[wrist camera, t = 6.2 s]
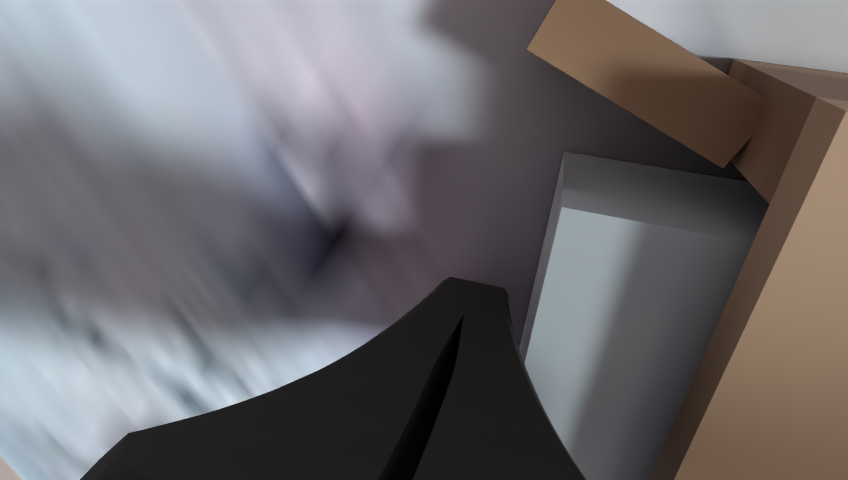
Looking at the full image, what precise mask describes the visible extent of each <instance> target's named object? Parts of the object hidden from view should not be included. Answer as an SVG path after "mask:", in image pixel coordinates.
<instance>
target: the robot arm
mask: <svg viewBox="0 0 848 480" xmlns="http://www.w3.org/2000/svg"><path fill="white" fill-rule="evenodd" d="M80 480H586V478H585V477H584V475H583V474H582V472H581V471H580V469H579V468H578V466H577V465H576V464H575V462H574V461H573V459H572V458H571V456H570V454H569V453H568V451H567V449H566V448H565V446H564V444H563V443H562V441H561V439H560V438H559V436H558V434H557V432H556V431H555V429H554V427H553V425H552V423H551V421H550V420H549V418H548V416H547V414H546V412H545V410H544V408H543V406H542V404H541V402H540V400H539V398H538V395H537V393H536V391H535V389H534V386H533V384H532V382H531V379H530V377H529V375H528V372H527V370H526V367H525V364H524V362H523V359H522V356H521V353H520V350H519V346H518V343H517V340H516V337H515V334H514V330H513V326H512V321H511V317H510V311H509V304H508V293H507V292H506V290H505V289H504V288H500V287H496V286H491V285H487V284H482V283H477V282H473V281H468V280H463V279H459V278H454V277H449V278H447V279H446V280H444V281H443V282H442V283H441V284H440V285H439V286H438V287H437V288H436V289H435V290H434V291H433V292H431V293H430V294H429V295H428V296H427V297H426V298H425V299H424V300H422V301H421V302H420V303H419V304H418V305H417V306H415V307H414V308H413V309H412V310H410V311H409V312H408V313H407V314H405V315H404V316H403V317H402V318H400V319H399V320H398V321H397V322H395V323H394V324H393V325H391V326H390V327H389V328H387V329H386V330H384V331H383V332H381V333H380V334H378V335H377V336H375V337H374V338H373V339H371V340H370V341H368V342H367V343H365V344H364V345H362V346H361V347H359V348H357V349H356V350H354V351H353V352H351V353H349V354H348V355H346V356H344V357H342V358H341V359H339V360H337V361H335V362H333V363H332V364H330V365H328V366H326V367H324V368H322V369H320V370H318V371H316V372H314V373H312V374H309V375H307V376H305V377H303V378H300V379H298V380H296V381H294V382H291V383H289V384H287V385H285V386H282V387H280V388H278V389H275V390H273V391H270V392H268V393H265V394H262V395H260V396H257V397H254V398H251V399H249V400H246V401H243V402H240V403H237V404H234V405H231V406H228V407H225V408H222V409H219V410H215V411H212V412H209V413H206V414H202V415H199V416H195V417H191V418H187V419H183V420H179V421H176V422H172V423H168V424H164V425H160V426H156V427H153V428H149V429H145V430H140V431H136V432H132V433H128V434H127V435H126V436H125V437H124V438H122V439H121V440H120V441H119V442H118V443H117V444H116V445H115V446H114V447H113V448H111V449H110V450H109V451H108V452H107V453H106V454H105V455H104V456H103V457H102V458H101V459H99V460H98V462H97V463H96V464H95V465H94V466H93V467H92V468H91V469H90V470H89V471H88V472H87V473H86V474H85V475H84V476H83V477H82V478H81V479H80Z"/></svg>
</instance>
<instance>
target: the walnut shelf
mask: <svg viewBox="0 0 848 480" xmlns="http://www.w3.org/2000/svg"><path fill="white" fill-rule="evenodd" d="M527 50H528V51H530V52H532V53H533V54H535V55H536V56H538V57H540V58H541V59H543V60H545V61H546V62H548V63H550V64H551V65H553V66H555V67H556V68H558V69H560V70H561V71H563V72H564V73H566V74H568V75H569V76H571V77H573V78H574V79H576V80H578V81H579V82H581V83H583V84H584V85H586V86H588V87H589V88H591V89H592V90H594V91H596V92H597V93H599V94H601V95H602V96H604V97H606V98H607V99H609V100H611V101H612V102H614V103H616V104H617V105H619V106H620V107H622V108H624V109H625V110H627V111H629V112H630V113H632V114H634V115H635V116H637V117H639V118H640V119H642V120H643V121H645V122H647V123H648V124H650V125H652V126H653V127H655V128H657V129H658V130H660V131H662V132H663V133H665V134H667V135H668V136H670V137H671V138H673V139H675V140H676V141H678V142H680V143H681V144H683V145H685V146H686V147H688V148H690V149H691V150H693V151H695V152H696V153H698V154H699V155H701V156H703V157H704V158H706V159H708V160H709V161H711V162H713V163H714V164H716V165H718V166H719V167H721V168H724V167H725V166H726V165H727V164H728V162H729V161H731V162H732V163H733V164H734V166H735V167H736V168H737V169H738V170H739V171H740V172H741V173H742V175H743V176H744V177H745V178H746V179H747V180H748V181H749V182H750V183H751V185H752V186H753V187H754V188H755V189H756V190H757V191H758V192H759V194H760V195H761V196H762V197H763V198H764V199H765V200H766V201H767V202H768V204H769V207H768V209H767V212H766V214H765V216H764V218H763V221H762V223H761V225H760V228H759V230H758V232H757V234H756V237H755V239H754V241H753V244H752V246H751V248H750V250H749V253H748V255H747V257H746V260H745V262H744V264H743V267H742V269H741V271H740V273H739V276H738V278H737V280H736V283H735V285H734V287H733V289H732V292H731V294H730V296H729V299H728V301H727V303H726V306H725V308H724V310H723V312H722V315H721V317H720V319H719V322H718V324H717V326H716V328H715V331H714V333H713V335H712V338H711V340H710V342H709V344H708V347H707V349H706V351H705V354H704V356H703V358H702V361H701V363H700V365H699V367H698V370H697V372H696V374H695V377H694V379H693V381H692V383H691V386H690V388H689V390H688V393H687V395H686V397H685V400H684V402H683V404H682V406H681V409H680V411H679V413H678V416H677V418H676V420H675V422H674V425H673V427H672V429H671V432H670V434H669V436H668V438H667V441H666V443H665V445H664V448H663V450H662V452H661V455H660V457H659V459H658V461H657V464H656V466H655V468H654V471H653V473H652V475H651V477H650V480H848V74H847V73H840V72H832V71H824V70H817V69H809V68H802V67H794V66H786V65H779V64H771V63H763V62H756V61H748V60H740V59H733V61H732V64H731V67H730V70H729V73H728V75H727V74H725V73H724V72H722V71H720V70H719V69H717V68H715V67H714V66H712V65H710V64H709V63H707V62H705V61H704V60H702V59H701V58H699V57H697V56H696V55H694V54H692V53H691V52H689V51H687V50H686V49H684V48H683V47H681V46H679V45H678V44H676V43H674V42H673V41H671V40H669V39H668V38H666V37H664V36H663V35H661V34H660V33H658V32H656V31H655V30H653V29H651V28H650V27H648V26H646V25H645V24H643V23H642V22H640V21H638V20H637V19H635V18H633V17H632V16H630V15H628V14H627V13H625V12H623V11H622V10H620V9H619V8H617V7H615V6H614V5H612V4H610V3H609V2H607V1H605V0H556V1H555V2H554V4H553V6H552V7H551V9H550V11H549V12H548V14H547V16H546V17H545V19H544V21H543V22H542V24H541V26H540V28H539V29H538V31H537V33H536V34H535V36H534V38H533V39H532V41H531V43H530V44H529V46H528V48H527Z"/></svg>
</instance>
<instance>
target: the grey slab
mask: <svg viewBox="0 0 848 480" xmlns="http://www.w3.org/2000/svg"><path fill="white" fill-rule="evenodd" d="M768 207H769V204H768V202H767V201H766V200H765V199H764V198H763V197H762V196H761V195H760V194H759V192H758V191H757V190H756V189H755V188H754V187H753V186H752V185H751V183H750V182H745V181H739V180H733V179H727V178H721V177H715V176H709V175H703V174H697V173H691V172H685V171H679V170H673V169H667V168H661V167H655V166H649V165H643V164H637V163H631V162H625V161H619V160H613V159H607V158H601V157H595V156H589V155H583V154H577V153H571V152H565V151H564V155H563V159H562V163H561V168H560V172H559V176H558V181H557V185H556V190H555V194H554V198H553V203H552V207H551V211H550V216H549V220H548V225H547V229H546V233H545V238H544V242H543V246H542V251H541V255H540V260H539V264H538V268H537V273H536V277H535V281H534V286H533V290H532V294H531V299H530V303H529V308H528V312H527V316H526V321H525V325H524V329H523V334H522V338H521V343H520V347H519V350H520V353H521V356H522V359H523V362H524V364H525V367H526V370H527V372H528V375H529V377H530V379H531V382H532V384H533V386H534V389H535V391H536V393H537V395H538V398H539V400H540V402H541V404H542V406H543V408H544V410H545V412H546V414H547V416H548V418H549V420H550V421H551V423H552V425H553V427H554V429H555V431H556V432H557V434H558V436H559V438H560V439H561V441H562V443H563V444H564V446H565V448H566V449H567V451H568V453H569V454H570V456H571V458H572V459H573V461H574V462H575V464H576V465H577V466H578V468H579V469H580V471H581V472H582V474H583V475H584V477H585V478H586V480H650V477H651V475H652V473H653V471H654V468H655V466H656V464H657V461H658V459H659V457H660V455H661V452H662V450H663V448H664V445H665V443H666V441H667V438H668V436H669V434H670V432H671V429H672V427H673V425H674V422H675V420H676V418H677V416H678V413H679V411H680V409H681V406H682V404H683V402H684V400H685V397H686V395H687V393H688V390H689V388H690V386H691V383H692V381H693V379H694V377H695V374H696V372H697V370H698V367H699V365H700V363H701V361H702V358H703V356H704V354H705V351H706V349H707V347H708V344H709V342H710V340H711V338H712V335H713V333H714V331H715V328H716V326H717V324H718V322H719V319H720V317H721V315H722V312H723V310H724V308H725V306H726V303H727V301H728V299H729V296H730V294H731V292H732V289H733V287H734V285H735V283H736V280H737V278H738V276H739V273H740V271H741V269H742V267H743V264H744V262H745V260H746V257H747V255H748V253H749V250H750V248H751V246H752V244H753V241H754V239H755V237H756V234H757V232H758V230H759V228H760V225H761V223H762V221H763V218H764V216H765V214H766V212H767V209H768Z"/></svg>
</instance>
